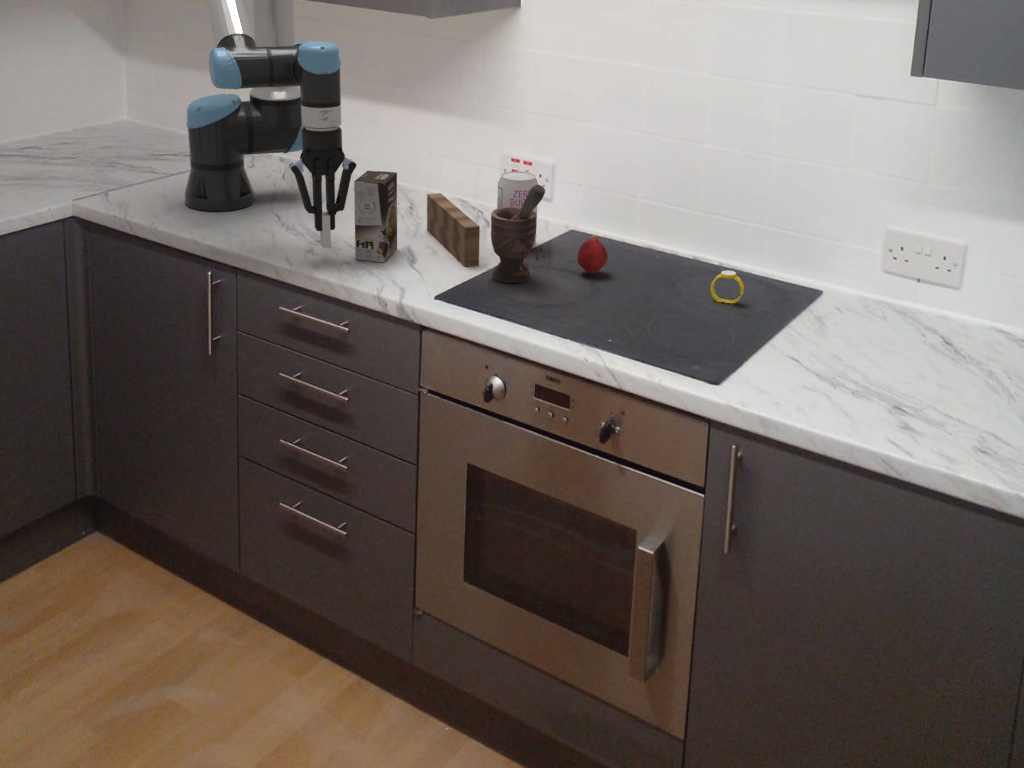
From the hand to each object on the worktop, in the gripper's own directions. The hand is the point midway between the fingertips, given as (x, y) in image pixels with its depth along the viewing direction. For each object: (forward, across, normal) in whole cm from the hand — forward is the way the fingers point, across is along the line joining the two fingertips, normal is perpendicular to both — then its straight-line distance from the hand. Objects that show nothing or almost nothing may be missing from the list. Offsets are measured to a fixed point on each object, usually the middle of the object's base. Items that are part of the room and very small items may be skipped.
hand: (325, 245), depth 242 cm
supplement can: (+3, +40, -3) cm, 40 cm away
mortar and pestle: (+3, +32, -22) cm, 39 cm away
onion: (+3, +48, -23) cm, 53 cm away
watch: (+4, +66, -44) cm, 79 cm away
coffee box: (+3, +10, 0) cm, 11 cm away
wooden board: (+3, +26, 0) cm, 27 cm away
